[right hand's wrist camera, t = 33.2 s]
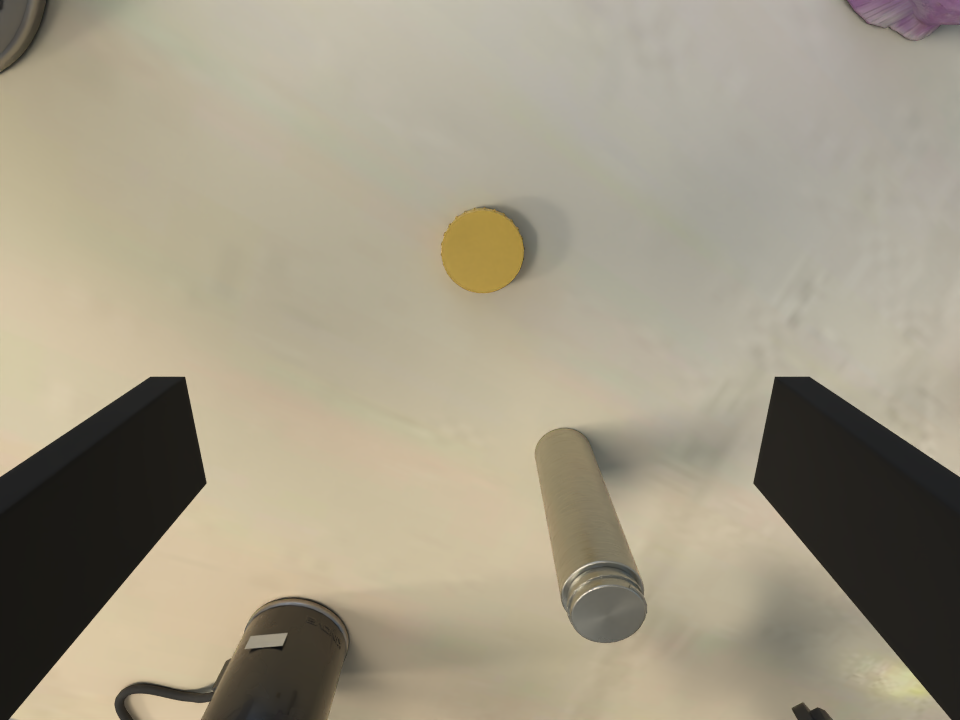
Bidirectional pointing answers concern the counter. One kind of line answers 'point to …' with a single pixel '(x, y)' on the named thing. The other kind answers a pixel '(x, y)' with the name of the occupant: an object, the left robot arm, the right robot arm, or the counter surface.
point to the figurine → (909, 15)
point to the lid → (482, 250)
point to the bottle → (588, 541)
